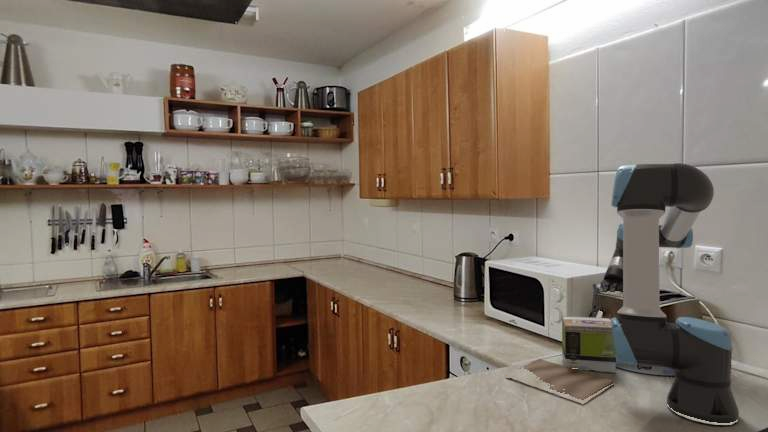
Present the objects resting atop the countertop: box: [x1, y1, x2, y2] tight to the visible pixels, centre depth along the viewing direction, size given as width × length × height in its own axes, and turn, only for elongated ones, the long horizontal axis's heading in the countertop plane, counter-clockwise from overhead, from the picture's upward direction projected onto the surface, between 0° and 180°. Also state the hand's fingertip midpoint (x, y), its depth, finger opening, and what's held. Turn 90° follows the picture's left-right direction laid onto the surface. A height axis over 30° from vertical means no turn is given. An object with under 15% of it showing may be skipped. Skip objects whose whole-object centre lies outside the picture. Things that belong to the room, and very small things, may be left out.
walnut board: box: [519, 358, 615, 400], centre depth 138 cm, size 24×19×1 cm
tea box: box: [561, 315, 617, 373], centre depth 148 cm, size 15×10×15 cm, turn 74°
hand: (596, 328), depth 153 cm, fingers closed
